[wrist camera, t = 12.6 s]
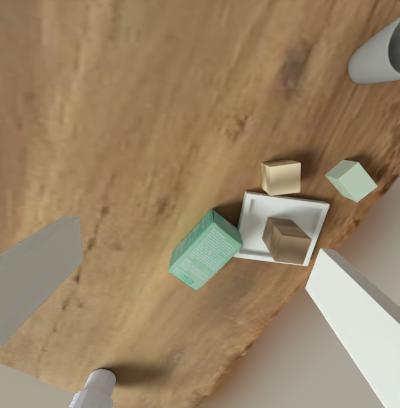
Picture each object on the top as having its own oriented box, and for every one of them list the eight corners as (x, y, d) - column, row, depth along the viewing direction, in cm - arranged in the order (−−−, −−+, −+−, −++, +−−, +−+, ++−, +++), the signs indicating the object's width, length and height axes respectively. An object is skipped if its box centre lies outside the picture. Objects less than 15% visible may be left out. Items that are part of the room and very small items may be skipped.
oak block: (261, 162, 38) (269, 166, 33) (288, 159, 38) (300, 162, 33) (262, 188, 39) (270, 195, 35) (288, 185, 39) (300, 192, 34)
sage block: (324, 174, 38) (337, 179, 35) (342, 159, 37) (358, 162, 34) (342, 195, 40) (357, 202, 36) (360, 181, 39) (377, 186, 35)
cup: (359, 27, 31) (414, -11, 23) (413, 54, 32) (484, 27, 24) (331, 80, 33) (372, 62, 25) (382, 104, 34) (437, 95, 26)
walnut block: (267, 216, 41) (282, 235, 33) (291, 219, 41) (312, 239, 33) (261, 238, 42) (274, 261, 35) (285, 241, 42) (302, 264, 35)
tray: (245, 190, 39) (247, 193, 38) (324, 201, 40) (329, 204, 38) (232, 252, 44) (233, 256, 42) (303, 261, 44) (307, 266, 43)
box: (239, 227, 42) (245, 245, 35) (198, 268, 46) (196, 292, 39) (212, 206, 41) (213, 221, 34) (172, 250, 44) (166, 272, 37)
